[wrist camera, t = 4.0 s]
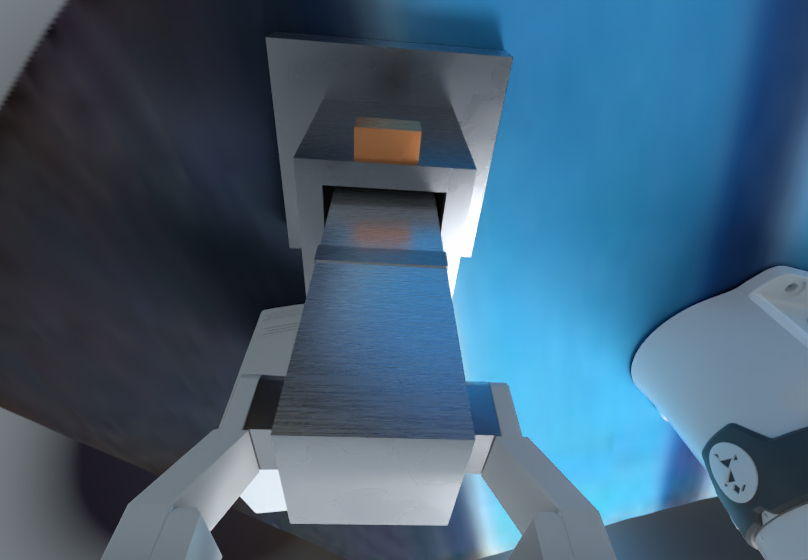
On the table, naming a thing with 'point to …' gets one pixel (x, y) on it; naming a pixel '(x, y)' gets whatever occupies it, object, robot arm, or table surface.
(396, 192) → the column
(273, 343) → the supplement box
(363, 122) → the stand
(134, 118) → the table surface
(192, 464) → the robot arm
